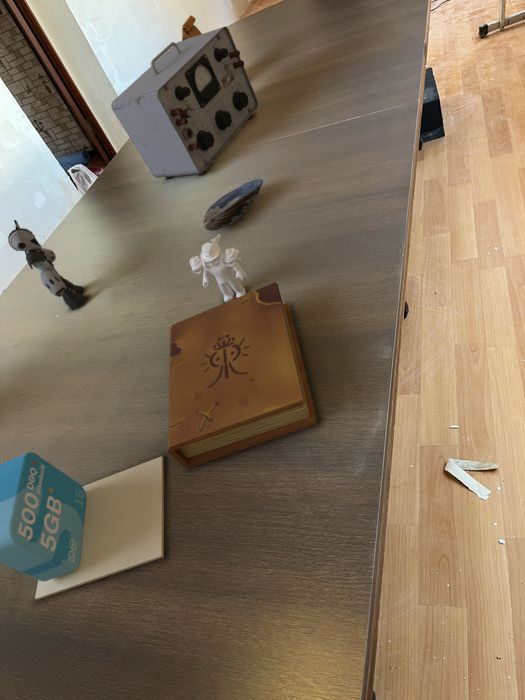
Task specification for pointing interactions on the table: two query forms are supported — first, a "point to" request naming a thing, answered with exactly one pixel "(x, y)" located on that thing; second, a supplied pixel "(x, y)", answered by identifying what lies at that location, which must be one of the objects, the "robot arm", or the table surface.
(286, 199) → the table surface
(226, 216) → the seashell
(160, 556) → the mat
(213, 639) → the table surface
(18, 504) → the data package
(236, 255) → the hat wearing toy figure
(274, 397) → the diary
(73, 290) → the robot
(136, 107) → the vintage electronic device
